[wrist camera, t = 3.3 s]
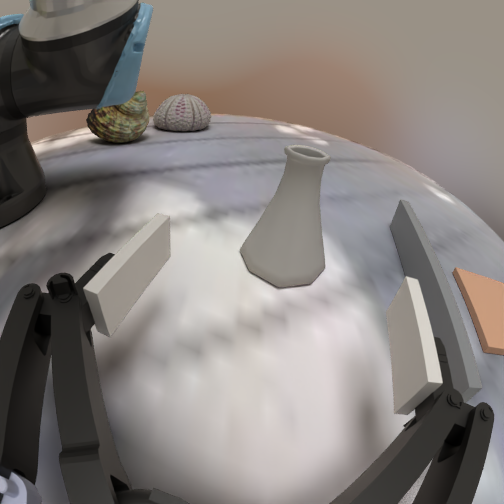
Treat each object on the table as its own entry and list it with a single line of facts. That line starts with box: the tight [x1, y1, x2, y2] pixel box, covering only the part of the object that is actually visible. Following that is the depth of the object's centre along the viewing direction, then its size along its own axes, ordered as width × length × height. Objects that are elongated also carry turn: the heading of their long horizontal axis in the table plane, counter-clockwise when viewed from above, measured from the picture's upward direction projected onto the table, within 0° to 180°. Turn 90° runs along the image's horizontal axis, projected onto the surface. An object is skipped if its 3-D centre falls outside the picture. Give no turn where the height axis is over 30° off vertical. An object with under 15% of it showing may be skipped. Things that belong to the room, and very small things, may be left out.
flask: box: [240, 145, 331, 288], centre depth 23 cm, size 7×7×10 cm
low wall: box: [390, 199, 482, 403], centre depth 23 cm, size 26×1×4 cm, turn 166°
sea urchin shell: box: [153, 94, 211, 132], centre depth 60 cm, size 13×14×8 cm
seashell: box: [86, 91, 149, 143], centre depth 48 cm, size 11×11×10 cm
